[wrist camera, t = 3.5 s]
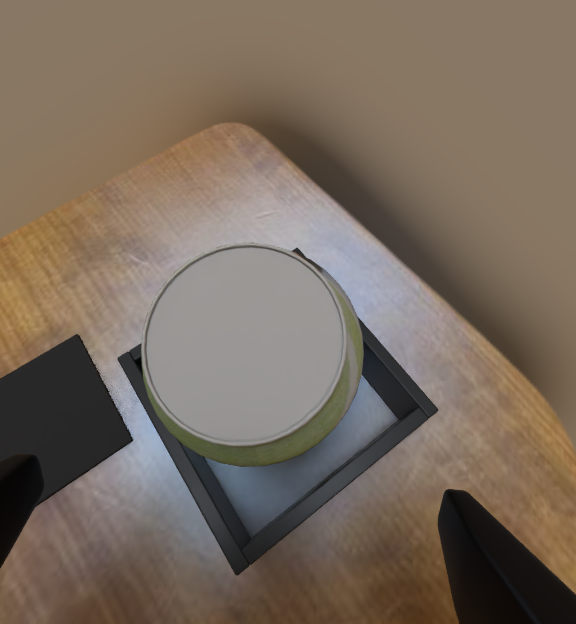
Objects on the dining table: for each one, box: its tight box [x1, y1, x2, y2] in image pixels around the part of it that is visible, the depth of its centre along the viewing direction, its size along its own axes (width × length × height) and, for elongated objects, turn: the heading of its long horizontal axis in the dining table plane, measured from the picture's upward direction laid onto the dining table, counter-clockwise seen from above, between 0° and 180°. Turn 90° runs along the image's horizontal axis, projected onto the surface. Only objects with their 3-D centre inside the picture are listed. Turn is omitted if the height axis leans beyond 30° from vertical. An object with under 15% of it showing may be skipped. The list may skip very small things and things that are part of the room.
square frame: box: [118, 248, 438, 575], centre depth 18 cm, size 10×10×4 cm
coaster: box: [0, 334, 133, 506], centre depth 20 cm, size 7×7×1 cm
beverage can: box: [141, 243, 364, 466], centre depth 14 cm, size 6×7×12 cm
